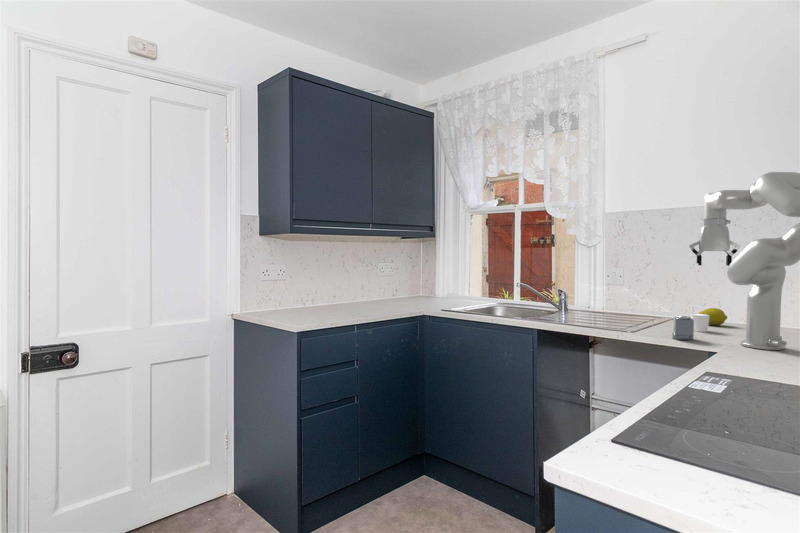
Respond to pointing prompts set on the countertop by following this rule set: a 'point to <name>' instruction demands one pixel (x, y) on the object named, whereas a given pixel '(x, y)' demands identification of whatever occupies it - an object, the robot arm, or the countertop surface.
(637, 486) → the countertop surface
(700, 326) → the white cup
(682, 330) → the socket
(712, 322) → the lemon
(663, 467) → the countertop surface
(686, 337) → the toy boat
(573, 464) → the countertop surface
